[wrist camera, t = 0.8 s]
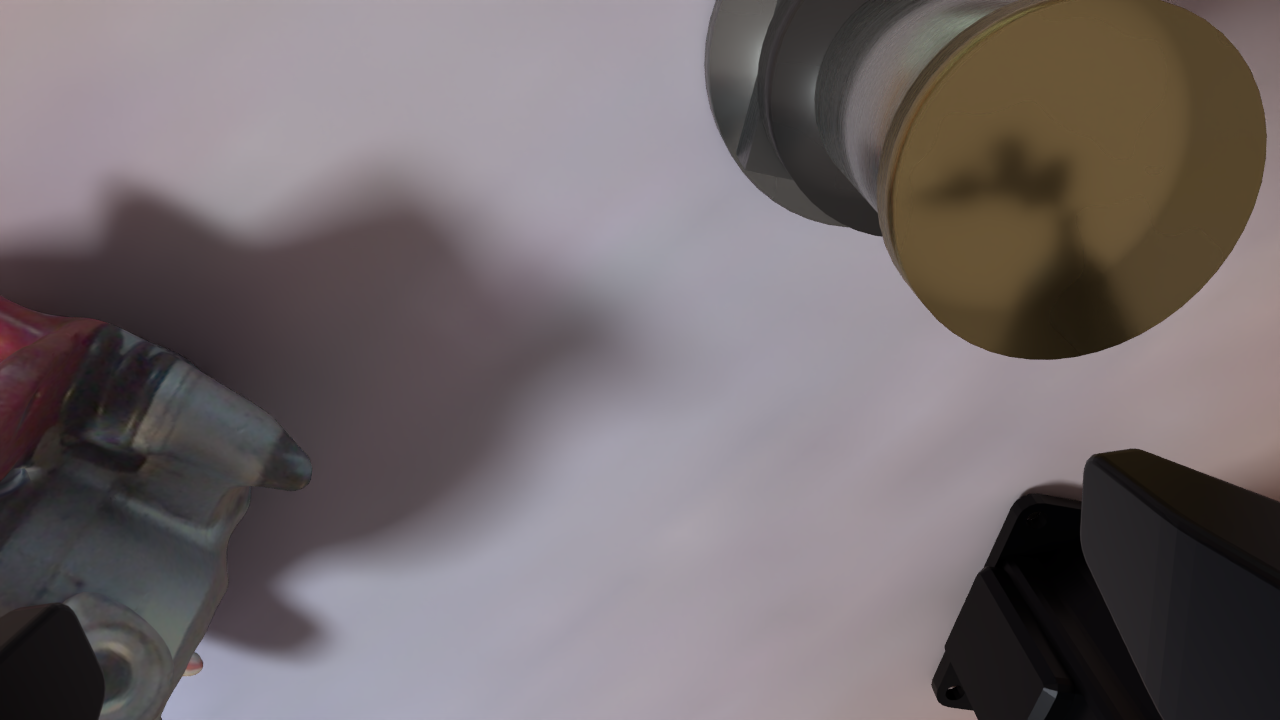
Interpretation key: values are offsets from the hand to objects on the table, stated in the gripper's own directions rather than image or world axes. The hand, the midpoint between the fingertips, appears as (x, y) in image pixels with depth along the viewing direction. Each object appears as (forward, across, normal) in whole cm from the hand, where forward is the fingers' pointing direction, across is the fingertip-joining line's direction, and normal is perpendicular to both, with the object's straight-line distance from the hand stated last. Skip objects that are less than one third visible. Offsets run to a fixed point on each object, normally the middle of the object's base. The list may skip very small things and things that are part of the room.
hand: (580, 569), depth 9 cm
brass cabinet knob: (+11, -6, -2) cm, 12 cm away
